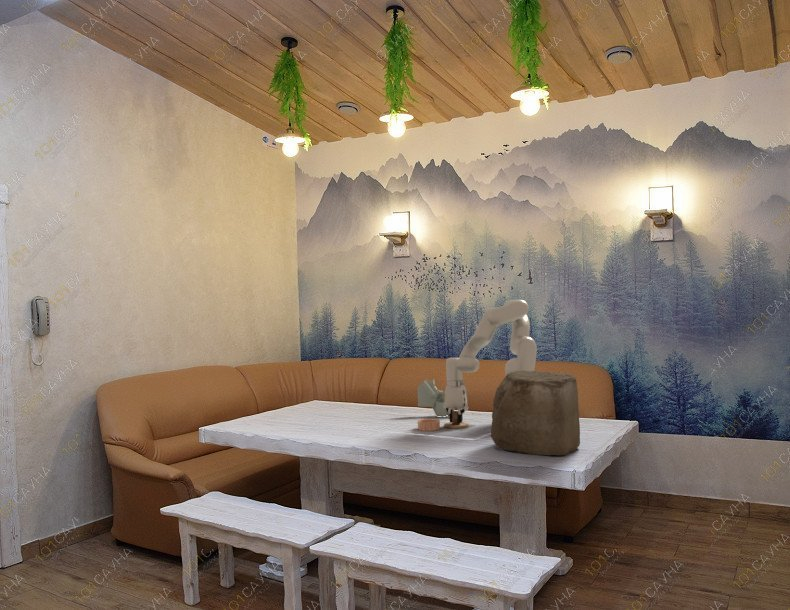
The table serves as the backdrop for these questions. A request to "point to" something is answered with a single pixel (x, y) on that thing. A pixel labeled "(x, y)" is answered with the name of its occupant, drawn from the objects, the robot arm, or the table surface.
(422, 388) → the bracket
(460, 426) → the lid
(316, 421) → the table surface
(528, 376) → the stone block
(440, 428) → the trivet
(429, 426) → the bowl
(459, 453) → the table surface
